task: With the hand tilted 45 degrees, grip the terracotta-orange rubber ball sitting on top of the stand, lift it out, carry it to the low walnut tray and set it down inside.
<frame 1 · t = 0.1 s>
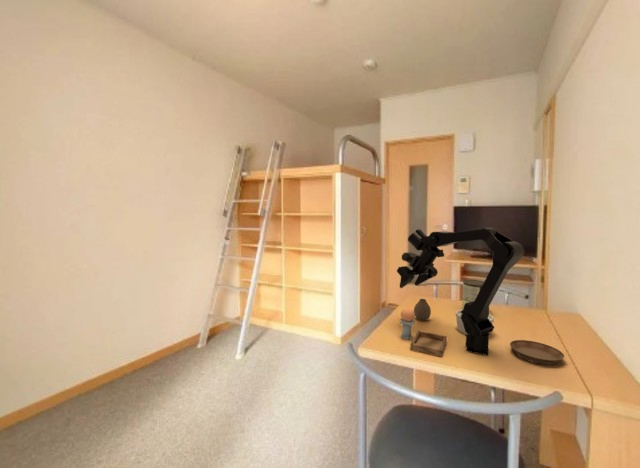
hand: (408, 286, 132), 15 cm above the table, tool tilted 35°, fingers open, 9 cm apart
coffee can: (473, 312, 147), on the table
saucer: (535, 357, 104), on the table
tray: (428, 345, 110), on the table
ball: (407, 314, 116), point 8 cm above the table, touching stand
stand: (406, 337, 117), on the table
ramekin: (473, 332, 123), on the table
vase: (421, 319, 135), on the table
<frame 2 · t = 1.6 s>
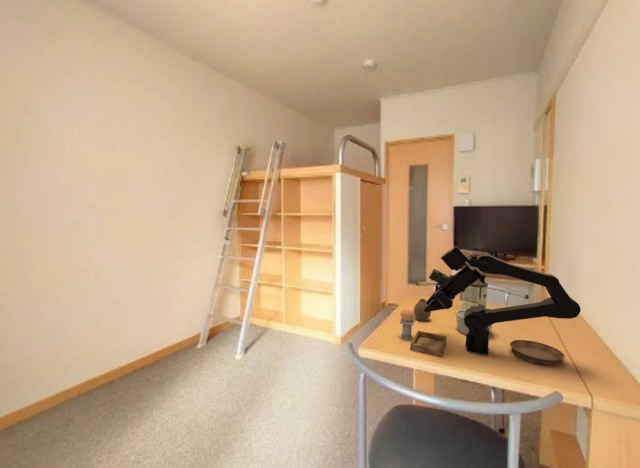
hand: (425, 307, 113), 12 cm above the table, tool tilted 45°, fingers open, 9 cm apart
nothing on the table moved.
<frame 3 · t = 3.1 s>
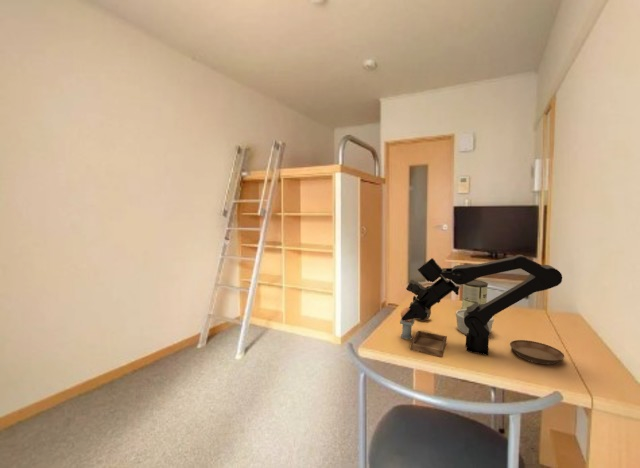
hand: (403, 317, 117), 7 cm above the table, tool tilted 45°, fingers closed on ball, 5 cm apart
ball: (407, 314, 116), point 8 cm above the table, touching stand, gripper
everything else where it was.
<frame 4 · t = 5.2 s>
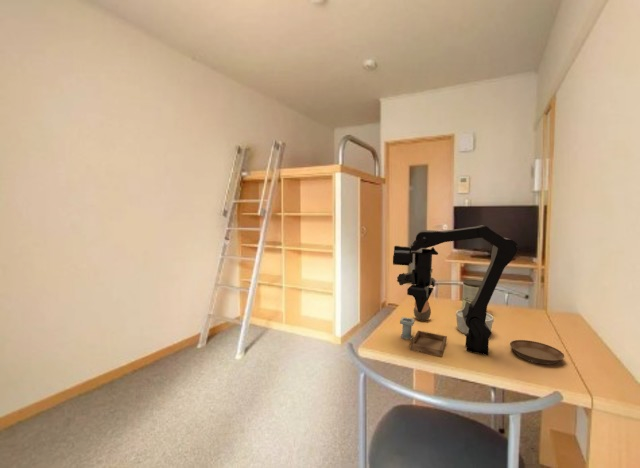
hand: (421, 309, 112), 12 cm above the table, tool pointing down, fingers closed on ball, 5 cm apart
ball: (421, 305, 111), point 14 cm above the table, tilted 46°, touching gripper
everything else where it was.
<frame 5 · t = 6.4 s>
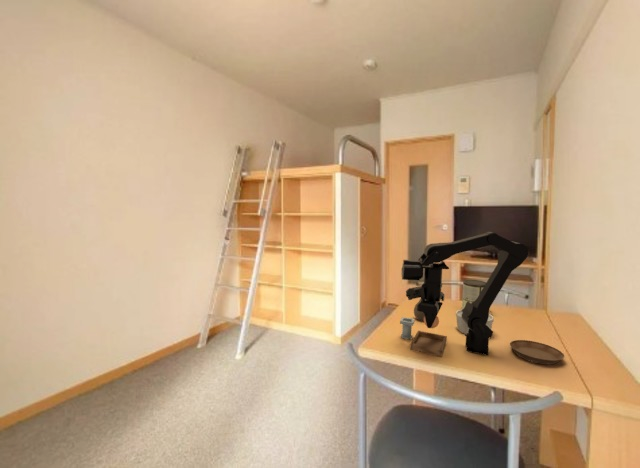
hand: (430, 325, 109), 7 cm above the table, tool pointing down, fingers closed on ball, 5 cm apart
ball: (431, 320, 109), point 9 cm above the table, tilted 45°, touching gripper
everything else where it was.
when the fingers open (3 cm above the table, at t = 7.5 s): ball drops 2 cm, resting on tray.
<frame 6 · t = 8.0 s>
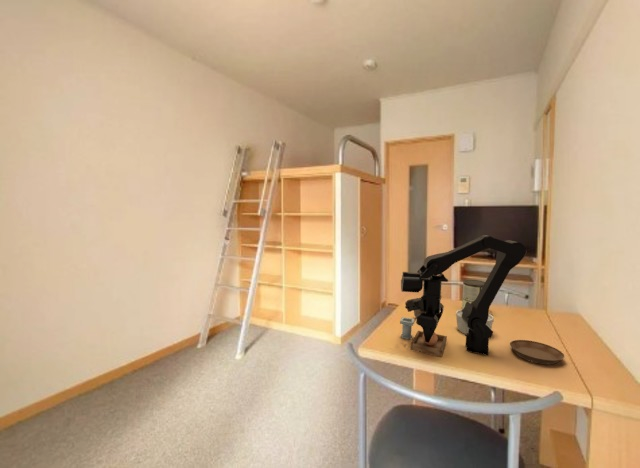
hand: (429, 337, 109), 3 cm above the table, tool pointing down, fingers open, 9 cm apart
ball: (430, 338, 109), point 3 cm above the table, tilted 45°, touching tray
everything else where it was.
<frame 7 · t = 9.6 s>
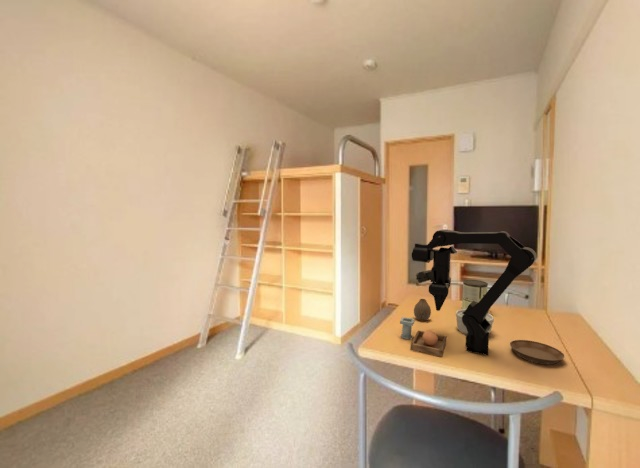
hand: (439, 306, 115), 12 cm above the table, tool pointing down, fingers open, 9 cm apart
nothing on the table moved.
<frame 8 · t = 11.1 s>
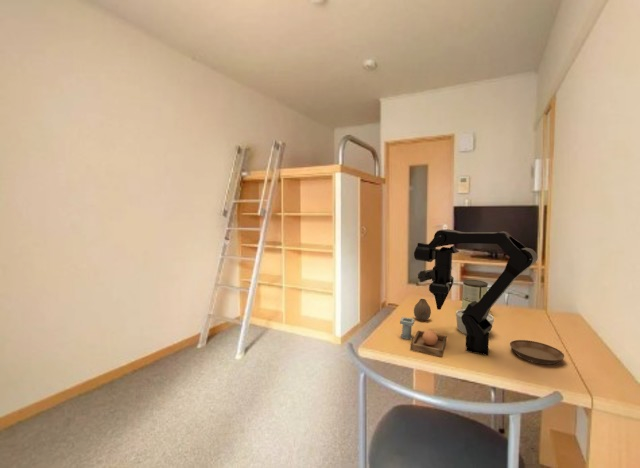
hand: (440, 305, 116), 12 cm above the table, tool pointing down, fingers open, 9 cm apart
nothing on the table moved.
at the end: ball inside the target area on the tray (0.2 cm from its centre), point 2.9 cm above the tray's base; ball touching tray; the gripper is holding nothing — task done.
